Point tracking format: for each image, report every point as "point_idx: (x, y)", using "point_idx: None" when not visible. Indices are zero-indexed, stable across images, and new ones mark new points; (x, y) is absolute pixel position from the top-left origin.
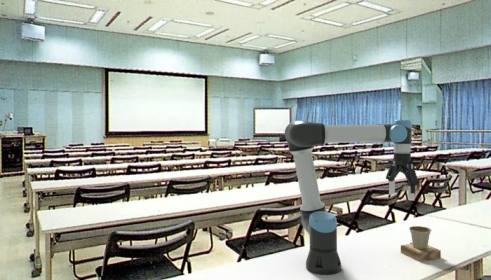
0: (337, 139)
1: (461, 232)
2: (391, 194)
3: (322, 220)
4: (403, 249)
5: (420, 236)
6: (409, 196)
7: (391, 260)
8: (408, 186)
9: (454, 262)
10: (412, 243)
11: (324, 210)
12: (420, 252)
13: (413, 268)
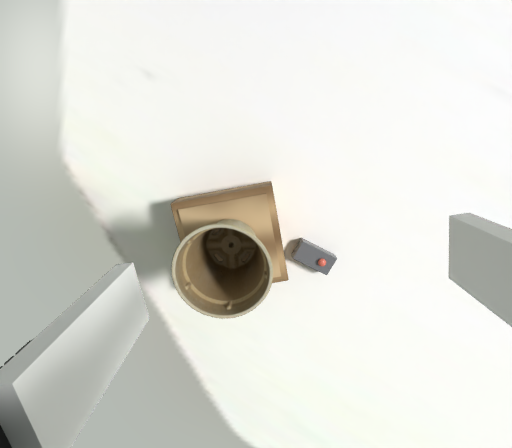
0: None
1: None
2: (449, 236)
3: None
4: (255, 186)
5: (189, 245)
6: (94, 287)
7: (201, 103)
8: (18, 376)
9: (158, 299)
10: (320, 259)
11: None
12: (180, 214)
13: (120, 144)
